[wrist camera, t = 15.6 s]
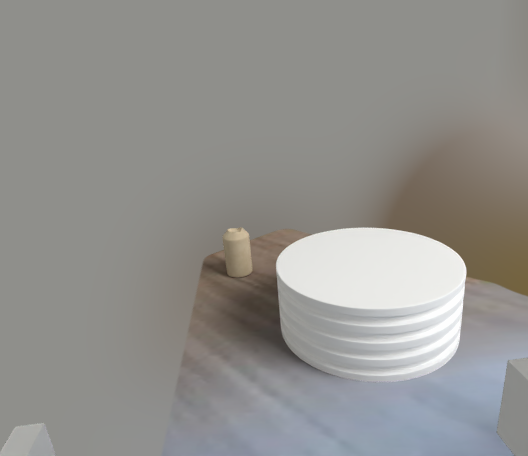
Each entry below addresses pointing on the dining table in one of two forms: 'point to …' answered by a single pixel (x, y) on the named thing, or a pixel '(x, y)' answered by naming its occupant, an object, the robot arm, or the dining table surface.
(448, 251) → the plate stack
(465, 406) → the dining table surface
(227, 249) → the candle
